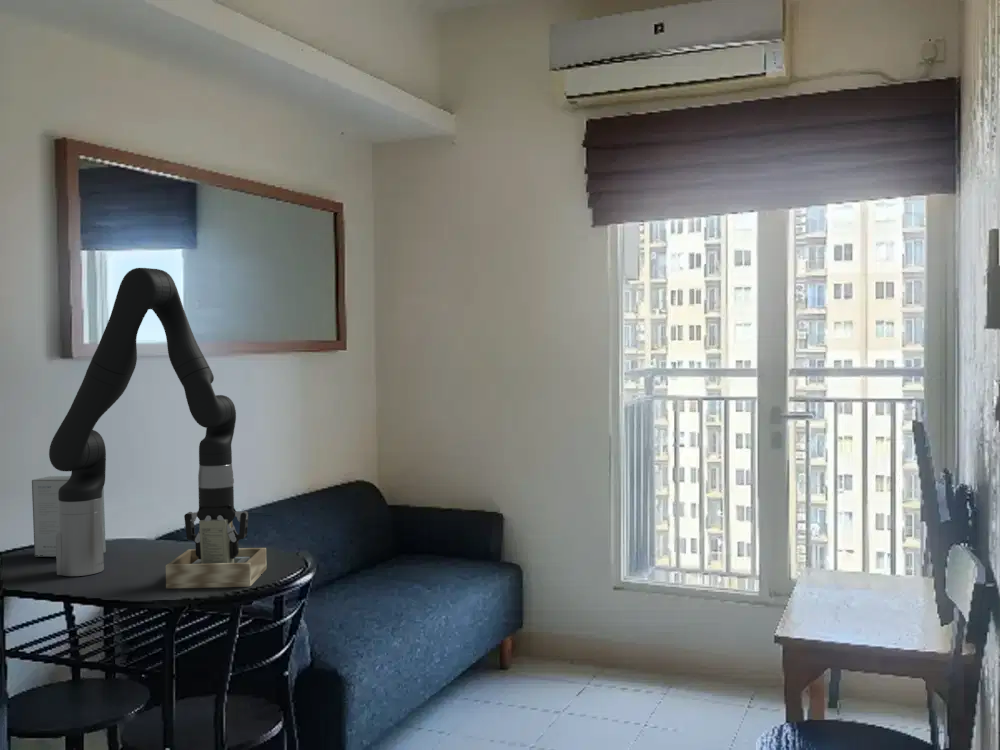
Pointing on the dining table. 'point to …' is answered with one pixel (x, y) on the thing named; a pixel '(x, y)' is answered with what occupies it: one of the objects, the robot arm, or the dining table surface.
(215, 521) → the skincare box
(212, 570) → the walled box
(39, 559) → the dining table surface
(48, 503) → the hard drive box
